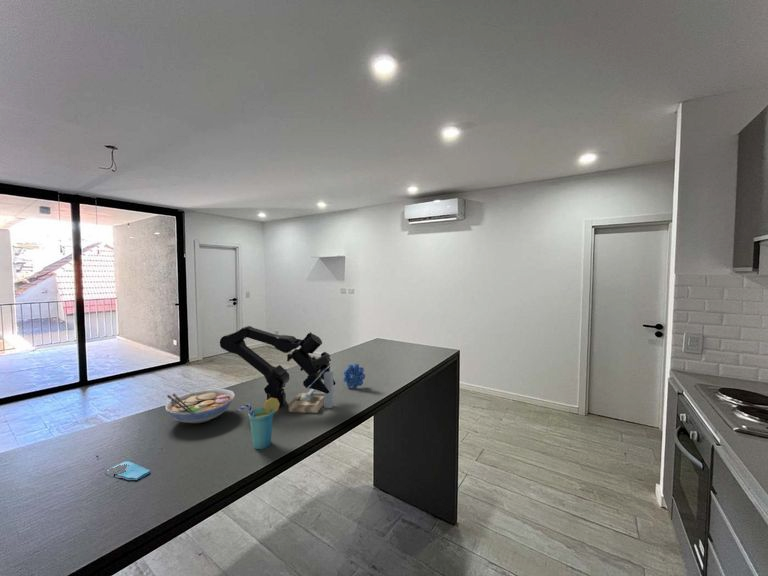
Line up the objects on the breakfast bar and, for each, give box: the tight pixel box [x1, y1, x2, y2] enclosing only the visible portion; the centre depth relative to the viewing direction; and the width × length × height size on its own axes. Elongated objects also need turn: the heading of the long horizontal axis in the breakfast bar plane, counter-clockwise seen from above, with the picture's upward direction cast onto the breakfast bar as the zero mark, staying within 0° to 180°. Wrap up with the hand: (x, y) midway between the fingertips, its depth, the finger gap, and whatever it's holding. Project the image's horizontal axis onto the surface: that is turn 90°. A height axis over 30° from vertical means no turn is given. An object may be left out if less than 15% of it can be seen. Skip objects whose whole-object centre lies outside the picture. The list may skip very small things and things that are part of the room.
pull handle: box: [306, 371, 335, 409], centre depth 131 cm, size 10×6×14 cm, turn 84°
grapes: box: [342, 363, 366, 390], centre depth 152 cm, size 12×7×12 cm, turn 66°
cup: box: [236, 398, 280, 450], centre depth 101 cm, size 14×8×15 cm, turn 146°
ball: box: [300, 395, 306, 401], centre depth 132 cm, size 4×4×4 cm
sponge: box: [106, 460, 151, 479], centre depth 88 cm, size 2×12×6 cm
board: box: [287, 392, 324, 414], centre depth 132 cm, size 12×12×3 cm
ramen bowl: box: [164, 388, 236, 424], centre depth 121 cm, size 25×23×8 cm
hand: (331, 388), depth 130 cm, fingers open, 9 cm apart
